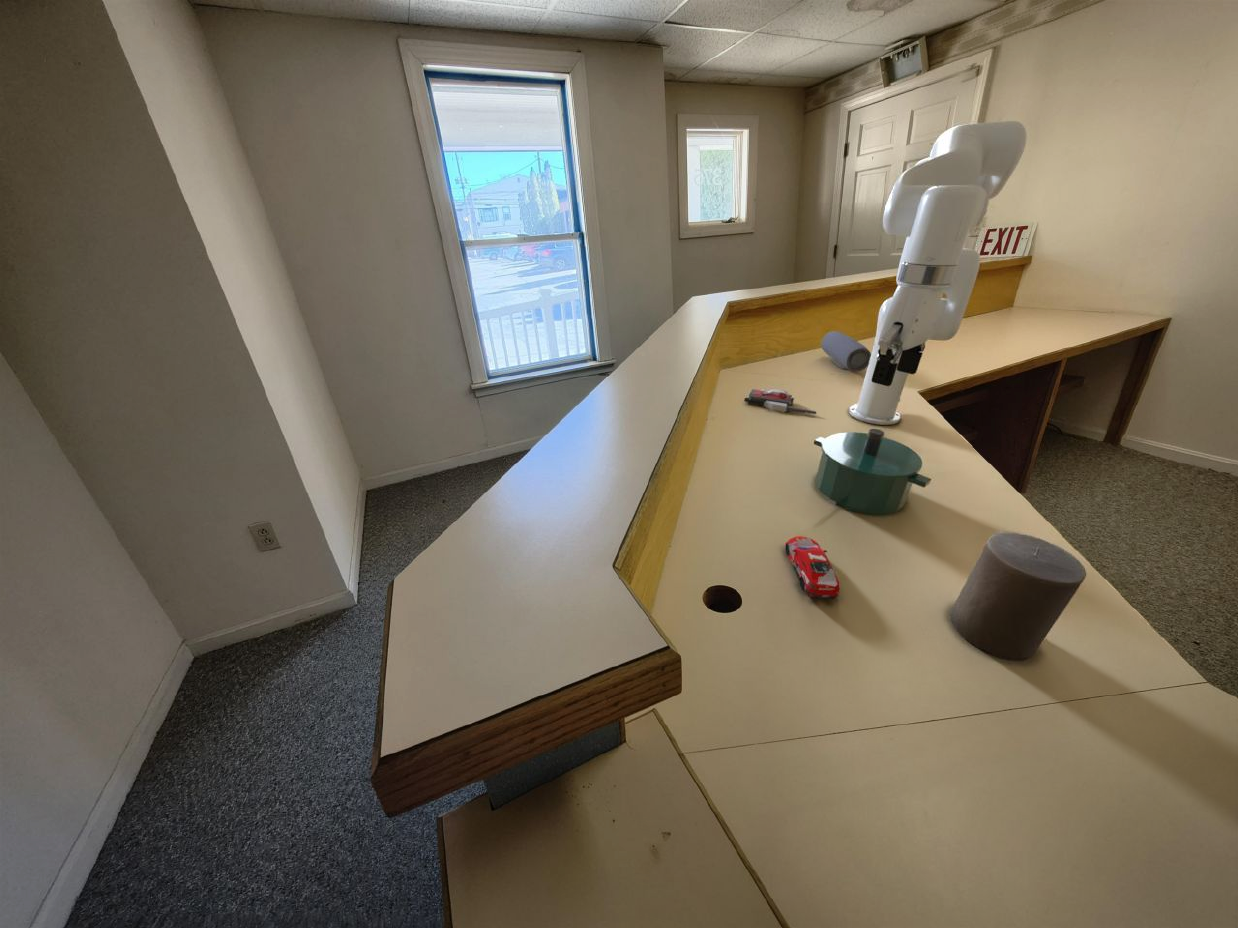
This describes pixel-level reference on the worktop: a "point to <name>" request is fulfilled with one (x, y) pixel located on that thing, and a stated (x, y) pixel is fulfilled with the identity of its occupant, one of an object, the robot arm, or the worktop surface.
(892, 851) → the worktop surface
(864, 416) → the robot arm
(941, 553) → the worktop surface
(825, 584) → the race car
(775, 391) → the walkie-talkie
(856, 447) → the lid
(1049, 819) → the worktop surface
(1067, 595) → the pillar candle
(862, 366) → the bluetooth speaker
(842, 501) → the pot
